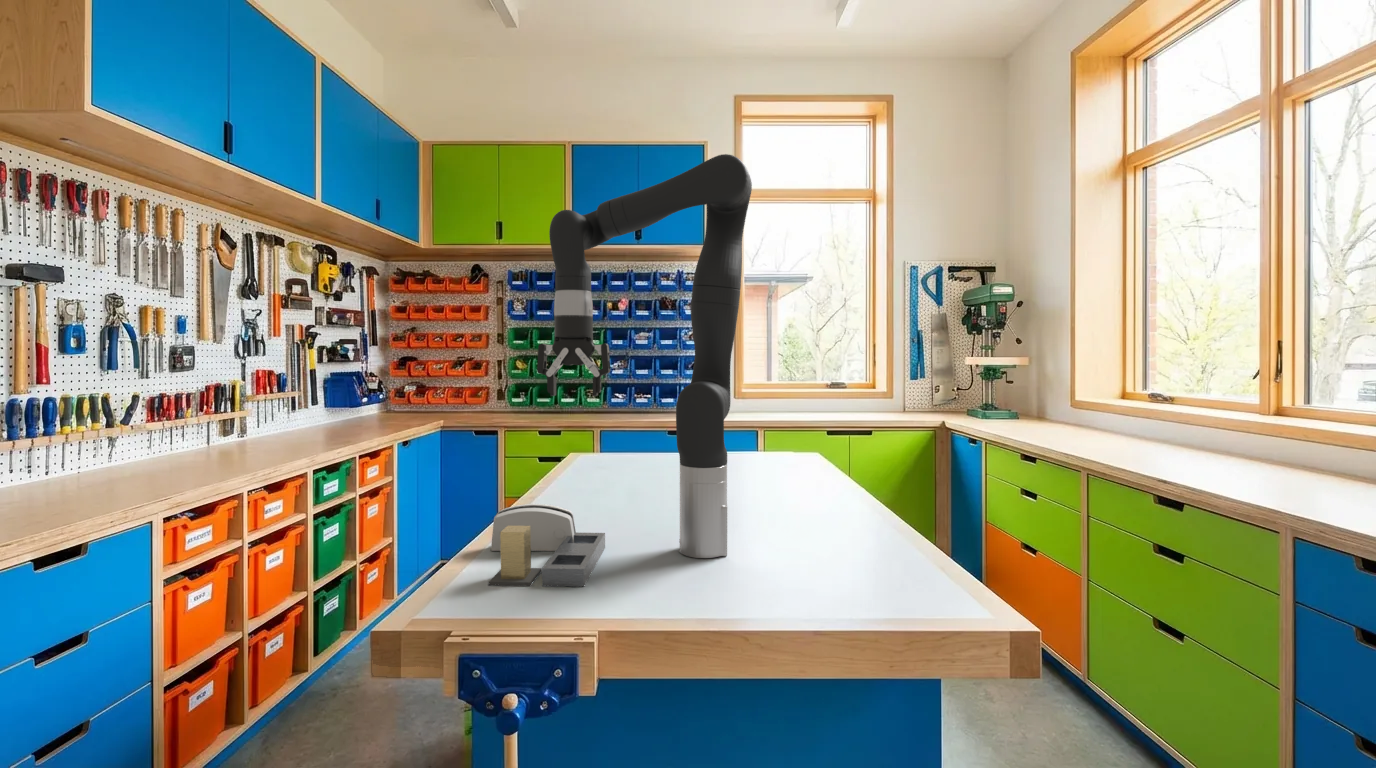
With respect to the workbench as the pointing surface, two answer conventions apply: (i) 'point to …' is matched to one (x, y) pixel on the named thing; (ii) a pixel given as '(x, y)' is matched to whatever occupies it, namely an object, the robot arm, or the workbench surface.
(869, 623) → the workbench surface
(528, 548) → the tan wooden beam
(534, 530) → the white arched device
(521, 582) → the pad
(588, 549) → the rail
